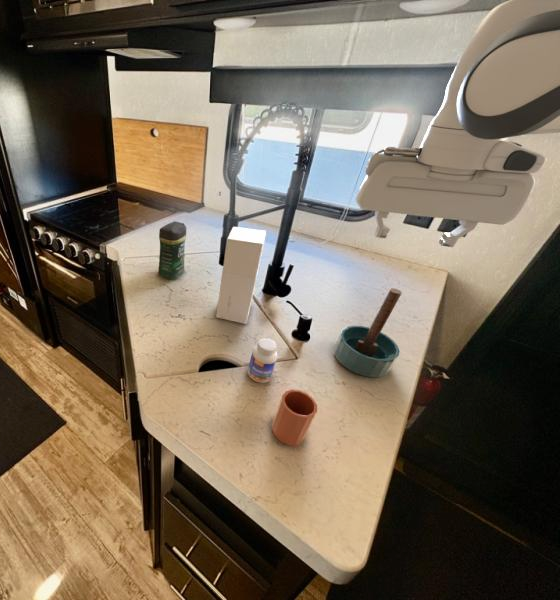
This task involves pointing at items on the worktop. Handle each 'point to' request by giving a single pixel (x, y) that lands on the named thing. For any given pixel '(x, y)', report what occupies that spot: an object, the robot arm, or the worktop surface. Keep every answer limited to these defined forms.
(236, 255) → the tall white carton
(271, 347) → the pill bottle
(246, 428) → the worktop surface
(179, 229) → the coffee jar
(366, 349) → the stick
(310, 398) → the crock
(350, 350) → the bowl
